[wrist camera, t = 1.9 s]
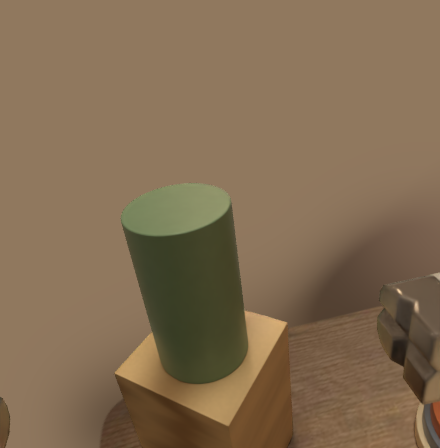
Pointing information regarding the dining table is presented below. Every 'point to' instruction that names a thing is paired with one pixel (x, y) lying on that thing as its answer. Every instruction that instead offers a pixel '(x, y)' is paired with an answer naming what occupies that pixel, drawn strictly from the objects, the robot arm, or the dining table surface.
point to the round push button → (428, 425)
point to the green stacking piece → (189, 279)
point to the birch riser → (214, 396)
